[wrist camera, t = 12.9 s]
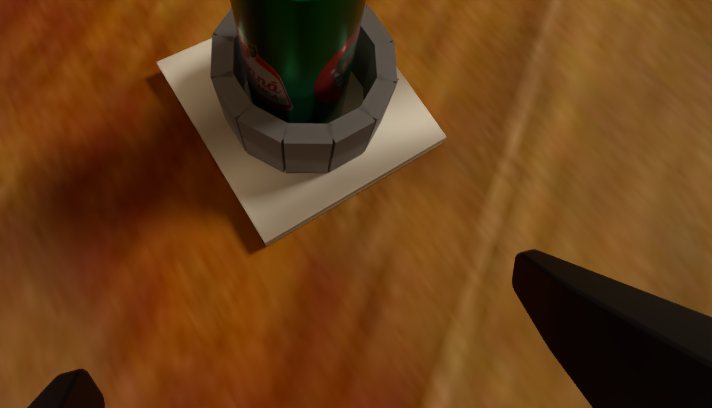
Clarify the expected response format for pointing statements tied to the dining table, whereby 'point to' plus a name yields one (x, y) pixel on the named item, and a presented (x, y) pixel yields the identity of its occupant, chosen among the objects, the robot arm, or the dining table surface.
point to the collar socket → (301, 129)
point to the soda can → (298, 55)
